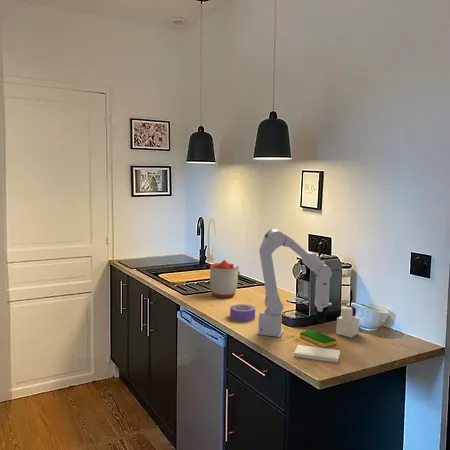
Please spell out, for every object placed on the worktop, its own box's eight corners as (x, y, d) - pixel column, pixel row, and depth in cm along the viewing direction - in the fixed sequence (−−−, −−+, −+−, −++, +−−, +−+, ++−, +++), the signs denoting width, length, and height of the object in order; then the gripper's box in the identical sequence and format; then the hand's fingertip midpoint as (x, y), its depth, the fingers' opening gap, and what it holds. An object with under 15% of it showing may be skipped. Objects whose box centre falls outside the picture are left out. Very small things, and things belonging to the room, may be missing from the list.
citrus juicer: (245, 298, 260) (246, 261, 258) (216, 300, 253) (217, 263, 251) (232, 291, 274) (233, 256, 272) (204, 293, 267) (205, 258, 265)
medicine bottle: (343, 330, 210) (344, 303, 209) (358, 333, 206) (360, 306, 204) (335, 334, 205) (337, 306, 203) (351, 337, 200) (353, 309, 199)
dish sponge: (324, 348, 188) (324, 342, 188) (299, 337, 200) (299, 332, 199) (336, 344, 193) (336, 338, 192) (311, 334, 204) (311, 329, 203)
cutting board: (294, 356, 177) (294, 352, 177) (297, 348, 186) (298, 344, 186) (338, 362, 173) (338, 358, 172) (340, 354, 181) (340, 350, 181)
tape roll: (238, 323, 216) (238, 312, 216) (225, 316, 226) (225, 305, 226) (259, 319, 222) (260, 309, 222) (246, 313, 232) (246, 303, 232)
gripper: (330, 297, 195) (328, 329, 196) (333, 289, 208) (332, 320, 210) (312, 295, 197) (311, 327, 198) (317, 288, 210) (315, 318, 212)
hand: (320, 323), depth 204 cm, fingers closed
